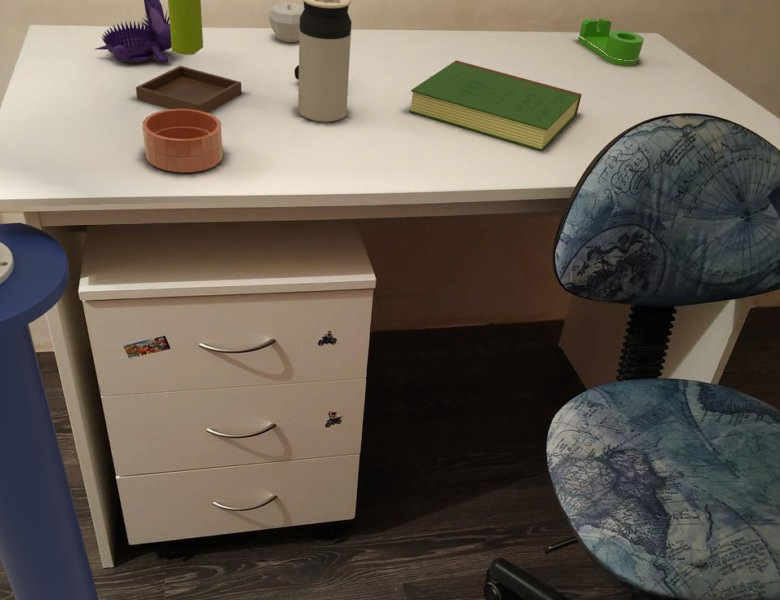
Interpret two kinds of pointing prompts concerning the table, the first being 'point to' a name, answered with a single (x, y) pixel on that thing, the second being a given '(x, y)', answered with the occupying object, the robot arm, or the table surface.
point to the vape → (185, 26)
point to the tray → (189, 90)
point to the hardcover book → (496, 104)
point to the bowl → (182, 140)
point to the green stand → (611, 42)
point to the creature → (141, 37)
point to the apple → (286, 21)
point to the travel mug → (324, 59)
